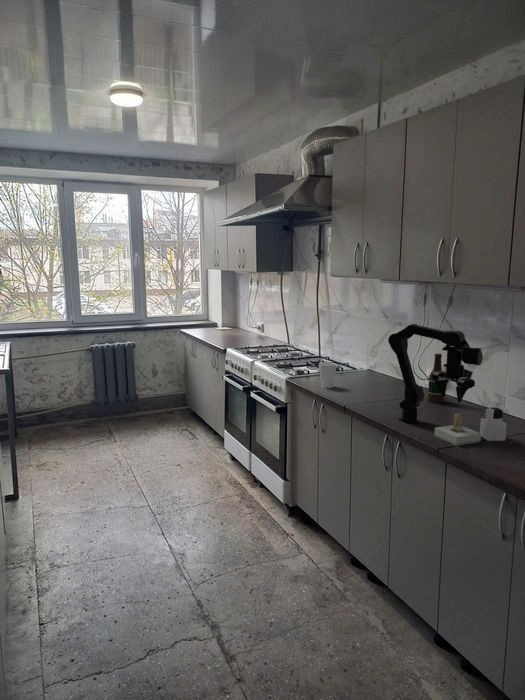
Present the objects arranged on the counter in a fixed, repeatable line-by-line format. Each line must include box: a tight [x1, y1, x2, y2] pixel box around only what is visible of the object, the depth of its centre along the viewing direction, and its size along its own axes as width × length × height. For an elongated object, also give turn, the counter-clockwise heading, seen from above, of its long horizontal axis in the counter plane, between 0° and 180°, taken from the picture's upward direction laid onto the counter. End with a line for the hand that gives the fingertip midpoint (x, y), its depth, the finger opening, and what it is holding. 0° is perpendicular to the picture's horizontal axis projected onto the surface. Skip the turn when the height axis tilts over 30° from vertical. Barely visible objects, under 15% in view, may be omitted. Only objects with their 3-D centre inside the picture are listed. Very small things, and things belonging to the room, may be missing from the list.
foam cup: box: [318, 361, 337, 389], centre depth 283 cm, size 10×9×13 cm
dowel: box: [453, 413, 464, 433], centre depth 200 cm, size 3×3×9 cm
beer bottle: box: [427, 353, 444, 404], centre depth 253 cm, size 8×8×24 cm
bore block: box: [434, 424, 482, 447], centre depth 200 cm, size 12×12×4 cm
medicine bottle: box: [479, 407, 508, 442], centre depth 201 cm, size 7×7×12 cm
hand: (451, 399), depth 209 cm, fingers open, 9 cm apart
